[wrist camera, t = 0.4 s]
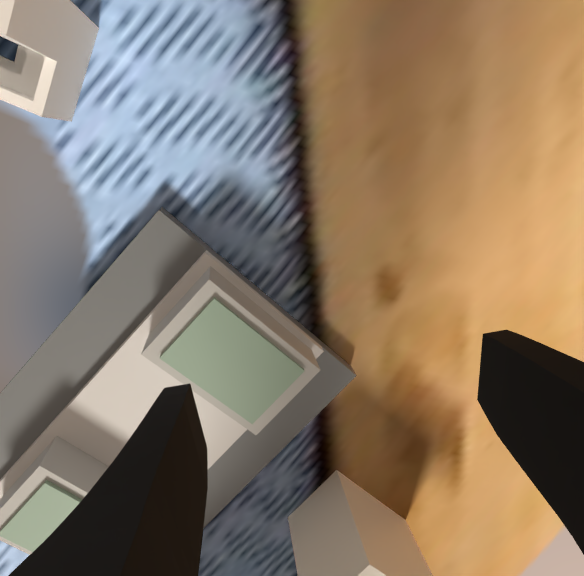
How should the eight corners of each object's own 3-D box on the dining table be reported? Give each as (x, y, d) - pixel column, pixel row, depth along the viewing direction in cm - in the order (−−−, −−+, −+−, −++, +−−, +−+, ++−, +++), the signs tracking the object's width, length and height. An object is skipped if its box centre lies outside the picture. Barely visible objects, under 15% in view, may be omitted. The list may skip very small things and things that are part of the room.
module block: (358, 562, 27) (395, 675, 21) (287, 516, 25) (306, 626, 20) (405, 519, 27) (456, 623, 21) (336, 469, 25) (370, 567, 19)
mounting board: (162, 555, 25) (151, 624, 21) (-44, 443, 21) (-99, 504, 17) (350, 365, 23) (374, 406, 19) (162, 206, 19) (148, 220, 16)
